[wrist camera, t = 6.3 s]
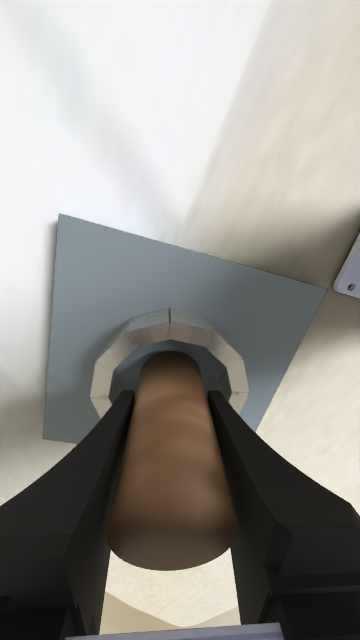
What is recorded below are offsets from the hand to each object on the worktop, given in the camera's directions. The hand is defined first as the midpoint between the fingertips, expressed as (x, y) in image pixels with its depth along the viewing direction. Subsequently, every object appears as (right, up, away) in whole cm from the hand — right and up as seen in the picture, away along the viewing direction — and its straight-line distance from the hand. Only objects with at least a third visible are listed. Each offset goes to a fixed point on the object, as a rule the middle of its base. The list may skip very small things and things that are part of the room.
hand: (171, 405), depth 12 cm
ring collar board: (0, +2, +4) cm, 4 cm away
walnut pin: (0, +1, +2) cm, 2 cm away
